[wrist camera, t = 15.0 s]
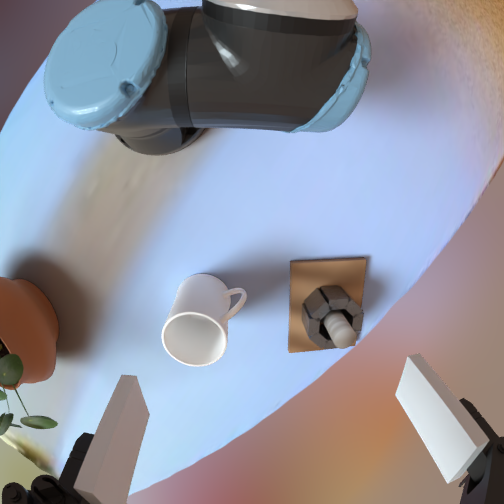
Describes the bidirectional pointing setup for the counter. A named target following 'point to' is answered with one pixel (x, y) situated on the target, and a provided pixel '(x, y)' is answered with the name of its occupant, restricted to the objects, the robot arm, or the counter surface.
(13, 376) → the potted plant
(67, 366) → the counter surface
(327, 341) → the ring
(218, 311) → the mug
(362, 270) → the post block
